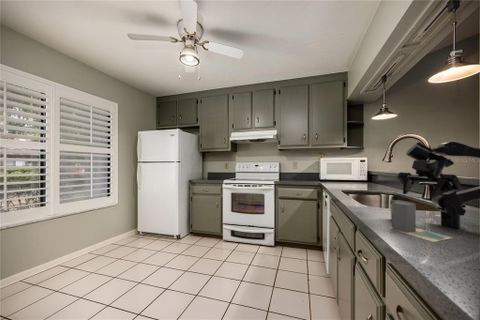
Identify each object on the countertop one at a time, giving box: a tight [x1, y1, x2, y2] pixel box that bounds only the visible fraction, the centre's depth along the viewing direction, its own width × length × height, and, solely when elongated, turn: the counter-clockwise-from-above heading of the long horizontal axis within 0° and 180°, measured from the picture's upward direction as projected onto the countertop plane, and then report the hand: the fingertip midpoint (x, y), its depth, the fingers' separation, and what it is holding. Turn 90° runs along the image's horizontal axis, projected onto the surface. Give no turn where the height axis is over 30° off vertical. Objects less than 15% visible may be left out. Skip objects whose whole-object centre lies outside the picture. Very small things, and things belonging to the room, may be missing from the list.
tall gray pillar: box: [391, 202, 417, 233], centre depth 76 cm, size 5×5×10 cm
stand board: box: [386, 226, 454, 243], centre depth 73 cm, size 11×15×5 cm
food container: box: [389, 199, 417, 220], centre depth 86 cm, size 12×6×10 cm, turn 167°
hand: (416, 195), depth 79 cm, fingers open, 9 cm apart
